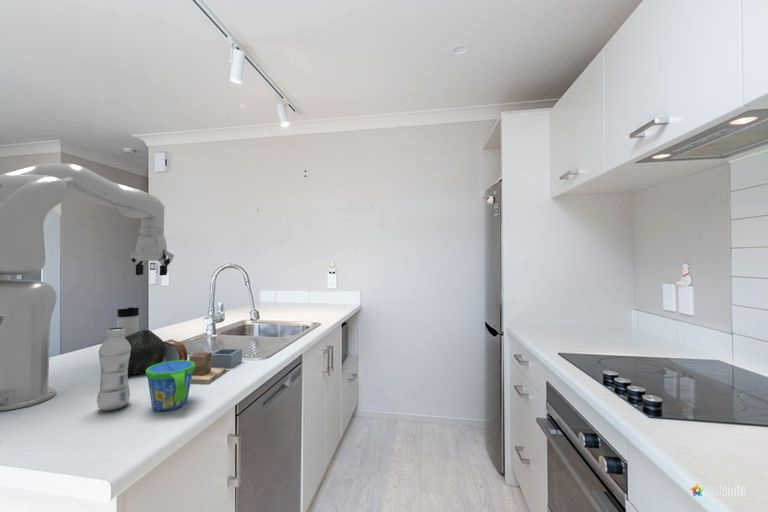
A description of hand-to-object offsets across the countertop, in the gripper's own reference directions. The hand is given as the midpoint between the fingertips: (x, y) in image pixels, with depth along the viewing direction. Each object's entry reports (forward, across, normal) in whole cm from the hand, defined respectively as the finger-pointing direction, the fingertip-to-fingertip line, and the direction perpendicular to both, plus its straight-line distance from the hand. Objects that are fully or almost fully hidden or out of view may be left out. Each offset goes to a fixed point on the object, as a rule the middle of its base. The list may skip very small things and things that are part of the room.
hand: (151, 275), depth 130 cm
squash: (+32, +13, -22) cm, 41 cm away
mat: (+31, +36, -26) cm, 54 cm away
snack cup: (+32, +40, -46) cm, 69 cm away
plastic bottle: (+31, +27, -48) cm, 63 cm away
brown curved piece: (+32, +19, -14) cm, 39 cm away
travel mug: (+31, 0, -11) cm, 33 cm away
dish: (+31, +38, -14) cm, 51 cm away
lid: (+31, +36, -26) cm, 54 cm away
